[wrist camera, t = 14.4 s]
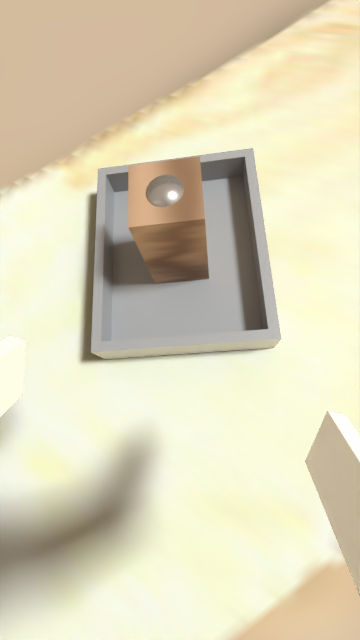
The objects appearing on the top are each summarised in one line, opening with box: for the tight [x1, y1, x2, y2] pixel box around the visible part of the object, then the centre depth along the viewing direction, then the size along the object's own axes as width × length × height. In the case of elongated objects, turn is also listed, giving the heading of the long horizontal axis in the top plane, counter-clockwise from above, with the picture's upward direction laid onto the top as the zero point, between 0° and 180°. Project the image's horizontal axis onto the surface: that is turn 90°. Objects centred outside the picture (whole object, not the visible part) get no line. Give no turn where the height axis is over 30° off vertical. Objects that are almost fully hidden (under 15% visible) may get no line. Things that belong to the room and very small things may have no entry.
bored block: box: [128, 156, 209, 284], centre depth 30 cm, size 6×6×11 cm
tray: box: [91, 148, 281, 359], centre depth 34 cm, size 18×22×4 cm
